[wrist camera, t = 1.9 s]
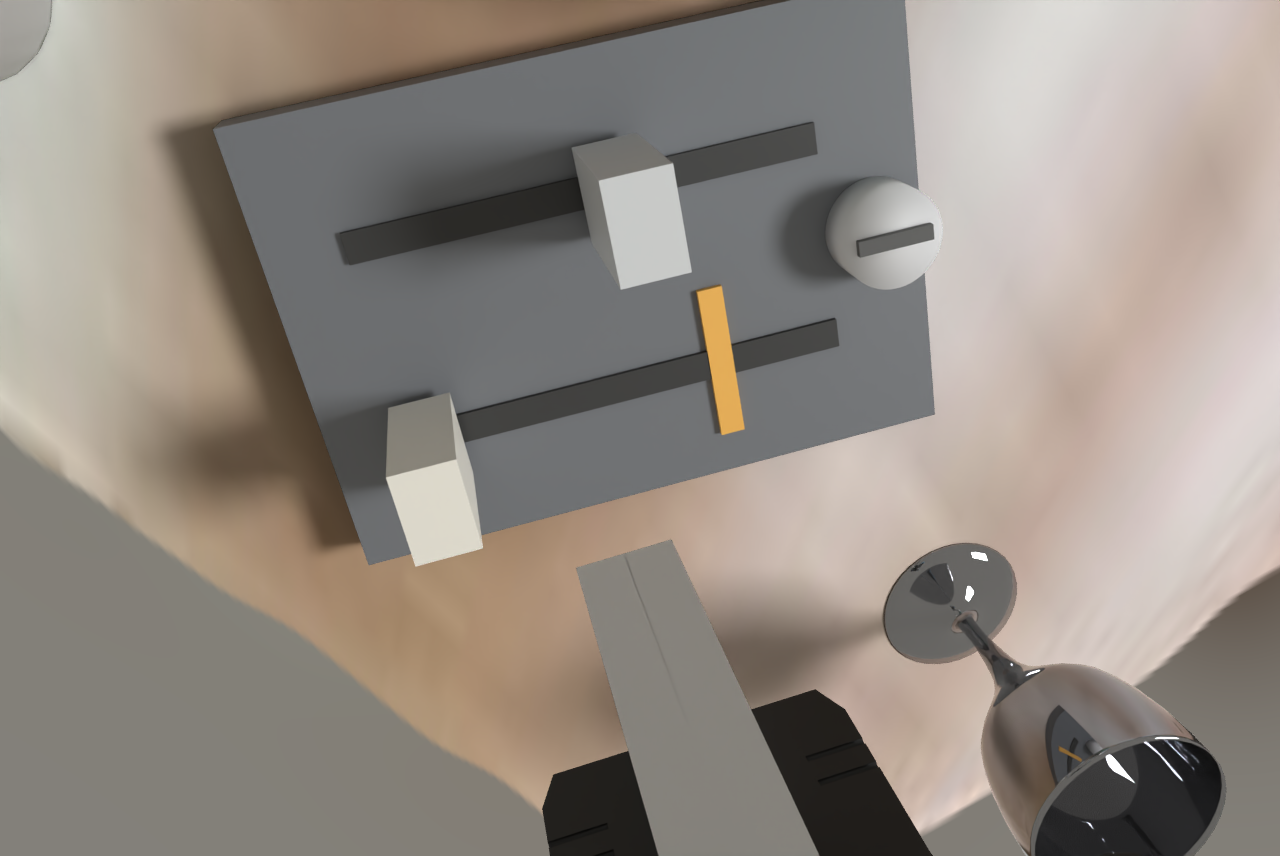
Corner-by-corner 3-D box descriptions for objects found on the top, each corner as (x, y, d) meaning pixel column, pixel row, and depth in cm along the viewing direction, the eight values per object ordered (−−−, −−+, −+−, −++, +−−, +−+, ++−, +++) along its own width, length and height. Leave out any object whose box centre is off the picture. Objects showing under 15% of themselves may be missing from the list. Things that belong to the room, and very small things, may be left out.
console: (221, 120, 38) (201, 140, 34) (881, -27, 41) (930, -23, 37) (370, 541, 46) (367, 595, 42) (915, 397, 49) (959, 436, 45)
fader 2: (571, 147, 39) (598, 180, 33) (635, 132, 39) (673, 163, 33) (592, 243, 40) (621, 289, 35) (653, 228, 40) (691, 272, 35)
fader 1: (388, 407, 41) (385, 477, 36) (449, 392, 41) (456, 459, 36) (414, 488, 43) (415, 566, 37) (473, 472, 43) (483, 548, 38)
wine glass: (966, 506, 52) (1162, 703, 38) (1052, 594, 55) (1261, 803, 42) (845, 616, 53) (994, 844, 40) (936, 695, 56) (1102, 930, 43)
